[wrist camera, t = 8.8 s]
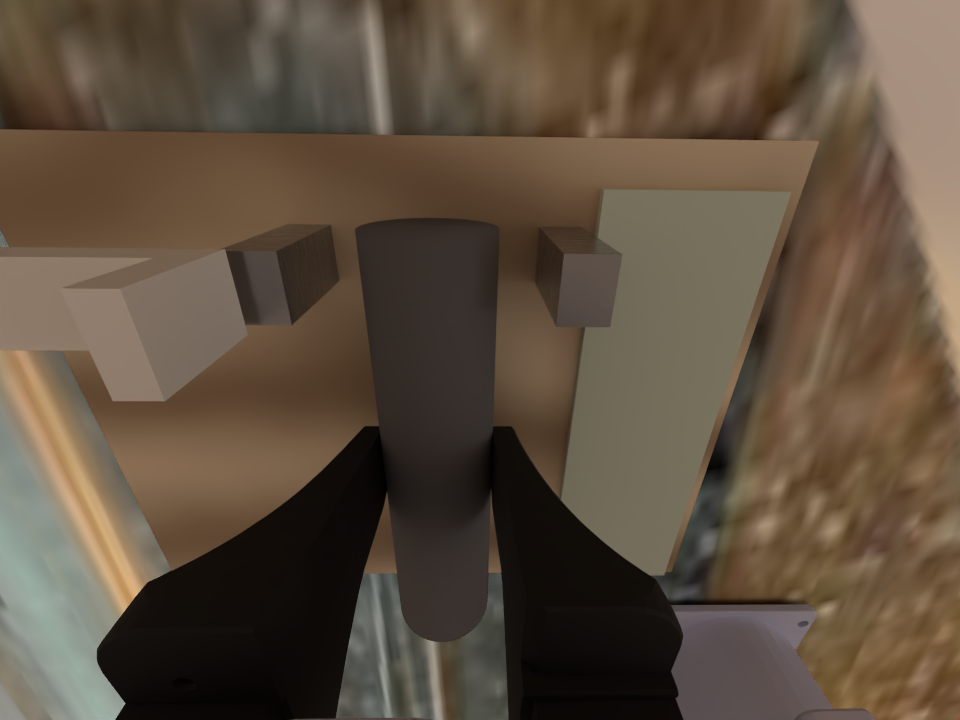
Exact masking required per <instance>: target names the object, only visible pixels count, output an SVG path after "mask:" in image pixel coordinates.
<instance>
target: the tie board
mask: <svg viewBox="0 0 960 720" xmlns="http://www.w3.org/2000/svg"><path fill="white" fill-rule="evenodd" d="M818 143H819V141H778V140H709V139H639V138H569V137H499V136H429V135H359V134H289V133H219V132H149V131H79V130H9V129H0V230H1V232H2V234H3V236H4V237H5V239H6V241H7V243H8V245H9V247H61V248H169V249H225V251H226V255H227V258H228V262H229V266H230V270H231V273H232V277H233V281H234V285H235V288H236V292H237V296H238V300H239V303H240V307H241V311H242V314H243V318H244V322H245V326H246V329H247V333H248V335H247V336H246V337H245V338H244V339H242V340H241V341H240V342H239V343H237V344H236V345H235V346H234V347H232V348H231V349H230V350H229V351H227V352H226V353H225V354H224V355H222V356H221V357H220V358H219V359H217V360H216V361H215V362H214V363H212V364H211V365H210V366H209V367H207V368H206V369H205V370H204V371H202V372H201V373H200V374H199V375H197V376H196V377H195V378H194V379H192V380H191V381H190V382H189V383H187V384H186V385H185V386H184V387H182V388H181V389H180V390H179V391H177V392H176V393H175V394H174V395H172V396H171V397H170V398H169V399H167V400H166V401H112V398H111V396H110V394H109V392H108V390H107V388H106V386H105V384H104V381H103V379H102V377H101V375H100V373H99V371H98V369H97V367H96V364H95V362H94V360H93V358H92V356H91V354H90V352H89V351H74V350H61V351H62V353H63V355H64V357H65V359H66V361H67V363H68V365H69V367H70V369H71V371H72V373H73V375H74V377H75V379H76V381H77V383H78V385H79V387H80V389H81V391H82V393H83V394H84V396H85V398H86V400H87V402H88V404H89V406H90V408H91V410H92V412H93V414H94V416H95V418H96V420H97V422H98V424H99V426H100V428H101V430H102V432H103V434H104V436H105V438H106V440H107V442H108V444H109V446H110V448H111V450H112V452H113V454H114V456H115V458H116V460H117V462H118V464H119V466H120V468H121V470H122V472H123V474H124V476H125V478H126V480H127V482H128V484H129V486H130V488H131V490H132V492H133V494H134V496H135V498H136V500H137V502H138V504H139V506H140V508H141V510H142V512H143V514H144V516H145V518H146V520H147V522H148V524H149V526H150V528H151V530H152V532H153V534H154V536H155V538H156V540H157V542H158V544H159V546H160V548H161V549H162V551H163V553H164V555H165V557H166V559H167V561H168V563H169V565H170V567H171V569H172V570H174V569H176V568H178V567H180V566H182V565H184V564H186V563H188V562H190V561H192V560H194V559H196V558H198V557H200V556H202V555H204V554H205V553H207V552H209V551H211V550H213V549H214V548H216V547H218V546H220V545H221V544H223V543H225V542H226V541H228V540H230V539H231V538H233V537H235V536H237V535H238V534H240V533H241V532H243V531H244V530H246V529H247V528H249V527H250V526H252V525H253V524H255V523H256V522H258V521H259V520H261V519H262V518H264V517H265V516H267V515H268V514H270V513H271V512H273V511H274V510H275V509H277V508H278V507H279V506H281V505H282V504H283V503H285V502H286V501H287V500H288V499H290V498H291V497H292V496H294V495H295V494H296V493H297V492H298V491H300V490H301V489H302V488H303V487H304V486H305V485H306V484H307V483H309V482H310V481H311V480H312V479H313V478H314V477H315V476H316V475H317V474H318V473H320V472H321V471H322V470H323V469H324V468H325V467H326V466H327V465H328V464H329V463H330V462H331V461H332V460H333V459H334V458H335V457H336V456H337V455H338V454H339V453H340V452H341V451H342V449H343V448H344V447H345V446H346V445H347V444H348V443H349V442H350V441H351V440H352V439H353V438H354V437H355V436H356V435H357V433H358V432H359V431H360V430H361V429H362V428H363V427H364V426H379V422H378V414H377V406H376V398H375V390H374V382H373V374H372V365H371V357H370V349H369V341H368V333H367V325H366V317H365V309H364V300H363V292H362V284H361V276H360V268H359V260H358V252H357V243H356V235H355V229H356V228H357V227H359V226H361V225H364V224H367V223H372V222H377V221H384V220H394V219H408V218H452V219H466V220H474V221H481V222H486V223H490V224H493V225H496V226H497V227H499V229H500V230H499V261H498V291H497V322H496V353H495V384H494V415H493V426H512V427H513V428H514V429H515V432H516V434H517V436H518V438H519V440H520V442H521V444H522V446H523V448H524V449H525V451H526V453H527V454H528V456H529V458H530V459H531V461H532V462H533V464H534V465H535V467H536V468H537V470H538V471H539V473H540V474H541V476H542V477H543V478H544V480H545V481H546V482H547V484H548V485H549V486H550V488H551V489H552V490H553V491H554V493H555V494H556V495H557V496H558V497H559V499H560V500H561V501H562V502H563V503H564V504H565V505H566V506H567V508H568V509H569V510H570V511H571V512H572V513H573V514H574V515H575V516H576V517H577V518H578V519H579V520H580V521H581V522H582V523H583V524H584V525H585V526H586V527H587V528H589V529H590V530H591V531H592V532H593V533H594V534H595V535H596V536H598V537H599V538H600V539H601V540H602V541H603V542H604V543H605V544H607V545H608V546H609V547H611V548H612V549H613V550H614V551H616V552H617V553H618V554H620V555H621V556H622V557H624V558H625V559H626V560H628V561H629V562H631V563H632V564H634V565H635V566H637V567H638V568H640V569H641V570H642V571H644V572H645V573H647V574H648V575H664V574H665V572H671V571H672V569H673V566H674V563H675V560H676V557H677V554H678V551H679V548H680V545H681V542H682V539H683V537H684V534H685V531H686V528H687V525H688V522H689V519H690V516H691V513H692V510H693V507H694V504H695V502H696V499H697V496H698V493H699V490H700V487H701V484H702V481H703V478H704V475H705V472H706V469H707V467H708V464H709V461H710V458H711V455H712V452H713V449H714V446H715V443H716V440H717V437H718V435H719V432H720V429H721V426H722V423H723V420H724V417H725V414H726V411H727V408H728V405H729V402H730V400H731V397H732V394H733V391H734V388H735V385H736V382H737V379H738V376H739V373H740V370H741V367H742V365H743V362H744V359H745V356H746V353H747V350H748V347H749V344H750V341H751V338H752V335H753V333H754V330H755V327H756V324H757V321H758V318H759V315H760V312H761V309H762V306H763V303H764V300H765V298H766V295H767V292H768V289H769V286H770V283H771V280H772V277H773V274H774V271H775V268H776V266H777V263H778V260H779V257H780V254H781V251H782V248H783V245H784V242H785V239H786V236H787V233H788V231H789V228H790V225H791V222H792V219H793V216H794V213H795V210H796V207H797V204H798V201H799V198H800V196H801V193H802V190H803V187H804V184H805V181H806V178H807V175H808V172H809V169H810V166H811V164H812V161H813V158H814V155H815V152H816V149H817V146H818ZM364 573H397V569H396V561H395V553H394V544H393V536H392V528H391V520H390V512H389V504H388V496H387V493H386V499H385V504H384V507H383V511H382V514H381V517H380V521H379V524H378V527H377V531H376V534H375V537H374V540H373V543H372V547H371V550H370V553H369V556H368V560H367V563H366V566H365V569H364ZM488 573H501V565H500V558H499V551H498V544H497V537H496V531H495V523H494V516H493V509H492V496H491V507H490V538H489V569H488Z"/></svg>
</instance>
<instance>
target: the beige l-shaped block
mask: <svg viewBox="0 0 960 720" xmlns="http://www.w3.org/2000/svg"><path fill="white" fill-rule="evenodd" d="M247 335H248V333H247V329H246V326H245V322H244V318H243V314H242V311H241V307H240V303H239V300H238V296H237V292H236V288H235V285H234V281H233V277H232V273H231V270H230V266H229V262H228V258H227V255H226V251H225V249H169V248H61V247H0V350H74V351H89V352H90V354H91V356H92V358H93V360H94V362H95V364H96V367H97V369H98V371H99V373H100V375H101V377H102V379H103V381H104V384H105V386H106V388H107V390H108V392H109V394H110V396H111V398H112V401H166V400H167V399H169V398H170V397H171V396H172V395H174V394H175V393H176V392H177V391H179V390H180V389H181V388H182V387H184V386H185V385H186V384H187V383H189V382H190V381H191V380H192V379H194V378H195V377H196V376H197V375H199V374H200V373H201V372H202V371H204V370H205V369H206V368H207V367H209V366H210V365H211V364H212V363H214V362H215V361H216V360H217V359H219V358H220V357H221V356H222V355H224V354H225V353H226V352H227V351H229V350H230V349H231V348H232V347H234V346H235V345H236V344H237V343H239V342H240V341H241V340H242V339H244V338H245V337H246V336H247Z"/></svg>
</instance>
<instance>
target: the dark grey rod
mask: <svg viewBox="0 0 960 720" xmlns="http://www.w3.org/2000/svg"><path fill="white" fill-rule="evenodd" d="M499 230H500V229H499V227H497V226H496V225H493V224H490V223H486V222H481V221H474V220H466V219H452V218H408V219H394V220H384V221H377V222H372V223H367V224H364V225H361V226H359V227H357V228H356V229H355V235H356V243H357V252H358V260H359V268H360V276H361V284H362V292H363V300H364V309H365V317H366V325H367V333H368V341H369V349H370V357H371V365H372V374H373V382H374V390H375V398H376V406H377V414H378V422H379V431H380V439H381V447H382V455H383V463H384V471H385V479H386V488H387V496H388V504H389V512H390V520H391V528H392V536H393V544H394V553H395V561H396V569H397V577H398V585H399V593H400V601H401V609H402V614H403V617H404V619H405V621H406V623H407V624H408V626H409V627H410V628H411V629H412V630H413V631H414V632H415V633H416V634H417V635H419V636H421V637H422V638H425V639H427V640H430V641H435V642H447V641H452V640H456V639H458V638H461V637H463V636H465V635H466V634H468V633H469V632H470V631H472V630H473V629H474V628H475V627H476V626H477V624H478V623H479V622H480V620H481V619H482V617H483V615H484V613H485V610H486V606H487V599H488V569H489V538H490V507H491V476H492V445H493V415H494V384H495V353H496V322H497V291H498V261H499Z"/></svg>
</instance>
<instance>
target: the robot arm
mask: <svg viewBox="0 0 960 720" xmlns="http://www.w3.org/2000/svg"><path fill="white" fill-rule="evenodd" d="M386 493H387V488H386V479H385V471H384V463H383V455H382V447H381V439H380V431H379V426H364V427H363V428H362V429H361V430H360V431H359V432H358V433H357V435H356V436H355V437H354V438H353V439H352V440H351V441H350V442H349V443H348V444H347V445H346V446H345V447H344V448H343V449H342V451H341V452H340V453H339V454H338V455H337V456H336V457H335V458H334V459H333V460H332V461H331V462H330V463H329V464H328V465H327V466H326V467H325V468H324V469H323V470H322V471H321V472H320V473H318V474H317V475H316V476H315V477H314V478H313V479H312V480H311V481H310V482H309V483H307V484H306V485H305V486H304V487H303V488H302V489H301V490H300V491H298V492H297V493H296V494H295V495H294V496H292V497H291V498H290V499H288V500H287V501H286V502H285V503H283V504H282V505H281V506H279V507H278V508H277V509H275V510H274V511H273V512H271V513H270V514H268V515H267V516H265V517H264V518H262V519H261V520H259V521H258V522H256V523H255V524H253V525H252V526H250V527H249V528H247V529H246V530H244V531H243V532H241V533H240V534H238V535H237V536H235V537H233V538H231V539H230V540H228V541H226V542H225V543H223V544H221V545H220V546H218V547H216V548H214V549H213V550H211V551H209V552H207V553H205V554H204V555H202V556H200V557H198V558H196V559H194V560H192V561H190V562H188V563H186V564H184V565H182V566H180V567H178V568H176V569H174V570H172V571H170V572H168V573H166V574H164V575H162V576H160V577H158V578H156V579H154V580H152V581H149V582H147V584H146V585H145V586H144V587H143V588H142V590H141V591H140V592H139V593H138V595H137V596H136V597H135V598H134V600H133V601H132V602H131V604H130V605H129V606H128V608H127V609H126V610H125V611H124V613H123V614H122V615H121V617H120V618H119V619H118V621H117V622H116V623H115V625H114V626H113V627H112V629H111V630H110V631H109V633H108V634H107V635H106V637H105V638H104V639H103V641H102V642H101V644H100V645H99V647H98V648H97V662H98V665H99V667H100V669H101V671H102V673H103V674H104V675H105V677H106V678H107V679H108V681H109V682H110V683H111V685H112V686H113V687H114V689H115V690H116V691H117V693H118V694H119V695H120V697H121V698H122V699H123V701H124V702H125V703H126V704H125V705H124V707H123V708H122V710H121V712H120V713H119V715H118V716H117V718H116V720H431V719H422V718H343V719H336V713H337V707H338V700H339V694H340V689H341V683H342V677H343V672H344V666H345V660H346V654H347V649H348V644H349V639H350V634H351V628H352V623H353V618H354V613H355V608H356V603H357V599H358V594H359V589H360V584H361V580H362V577H363V573H364V569H365V566H366V563H367V560H368V556H369V553H370V550H371V547H372V543H373V540H374V537H375V534H376V531H377V527H378V524H379V521H380V517H381V514H382V511H383V507H384V504H385V499H386ZM491 496H492V509H493V516H494V523H495V531H496V537H497V544H498V551H499V558H500V565H501V574H502V584H503V603H504V623H505V644H506V666H507V689H508V715H509V720H875V718H874V717H873V716H872V714H871V713H870V712H869V711H867V710H865V709H833V708H832V706H831V705H830V703H829V702H828V700H827V698H826V697H825V695H824V694H823V692H822V691H821V689H820V688H819V686H818V685H817V683H816V681H815V680H814V678H813V677H812V675H811V674H810V672H809V671H808V669H807V668H806V666H805V665H804V663H803V661H802V660H801V658H800V657H799V655H798V654H797V652H796V651H795V650H796V648H797V647H798V645H799V644H800V642H801V640H802V639H803V637H804V636H805V634H806V633H807V631H808V630H809V628H810V626H811V625H812V623H813V622H814V620H815V619H816V616H817V614H816V612H815V610H814V609H813V608H812V606H810V605H807V604H760V605H670V603H669V601H668V599H667V598H666V596H665V594H664V592H663V591H662V589H661V587H660V586H659V584H658V582H657V581H656V579H654V578H653V577H651V576H650V575H648V574H647V573H645V572H644V571H642V570H641V569H640V568H638V567H637V566H635V565H634V564H632V563H631V562H629V561H628V560H626V559H625V558H624V557H622V556H621V555H620V554H618V553H617V552H616V551H614V550H613V549H612V548H611V547H609V546H608V545H607V544H605V543H604V542H603V541H602V540H601V539H600V538H599V537H598V536H596V535H595V534H594V533H593V532H592V531H591V530H590V529H589V528H587V527H586V526H585V525H584V524H583V523H582V522H581V521H580V520H579V519H578V518H577V517H576V516H575V515H574V514H573V513H572V512H571V511H570V510H569V509H568V508H567V506H566V505H565V504H564V503H563V502H562V501H561V500H560V499H559V497H558V496H557V495H556V494H555V493H554V491H553V490H552V489H551V488H550V486H549V485H548V484H547V482H546V481H545V480H544V478H543V477H542V476H541V474H540V473H539V471H538V470H537V468H536V467H535V465H534V464H533V462H532V461H531V459H530V458H529V456H528V454H527V453H526V451H525V449H524V448H523V446H522V444H521V442H520V440H519V438H518V436H517V434H516V432H515V429H514V428H513V427H512V426H493V445H492V476H491Z"/></svg>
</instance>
